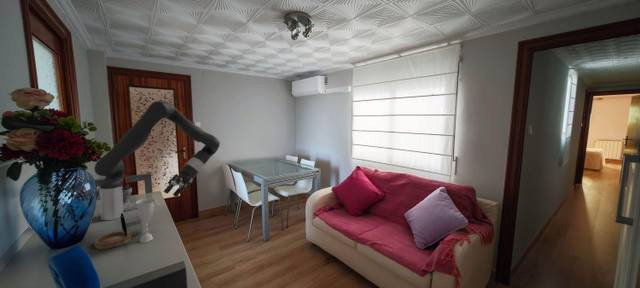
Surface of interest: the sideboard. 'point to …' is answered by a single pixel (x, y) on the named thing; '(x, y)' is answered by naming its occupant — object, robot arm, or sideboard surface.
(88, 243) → the sideboard surface
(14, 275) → the sideboard surface
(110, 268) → the sideboard surface
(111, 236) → the tan segmented-rim dish
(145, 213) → the chalice
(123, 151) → the robot arm
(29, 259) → the sideboard surface
